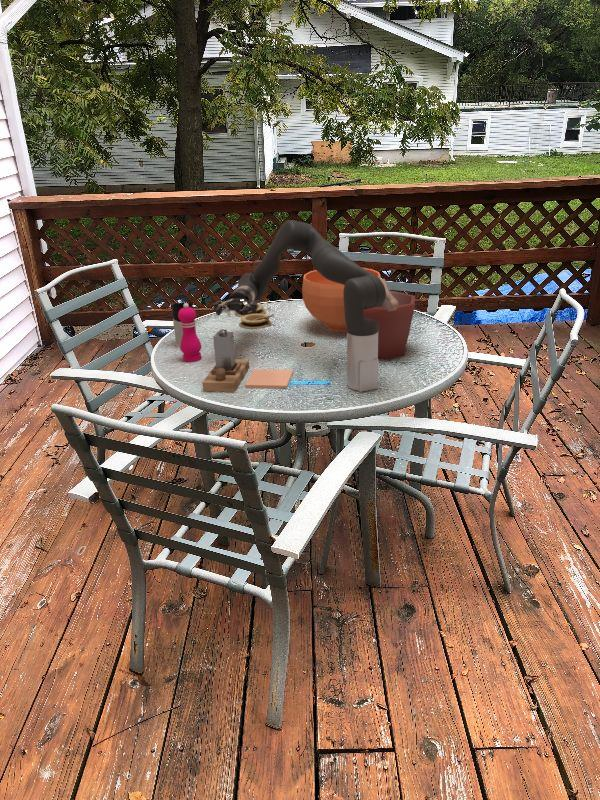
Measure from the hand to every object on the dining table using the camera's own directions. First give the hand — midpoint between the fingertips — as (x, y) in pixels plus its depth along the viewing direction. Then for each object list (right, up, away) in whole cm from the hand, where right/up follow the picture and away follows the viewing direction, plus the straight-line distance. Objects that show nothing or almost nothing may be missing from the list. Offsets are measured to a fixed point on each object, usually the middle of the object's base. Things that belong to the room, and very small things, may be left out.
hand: (230, 312), depth 203 cm
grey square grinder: (-1, -19, -4) cm, 19 cm away
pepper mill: (-15, -14, +16) cm, 26 cm away
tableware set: (+3, +5, +58) cm, 59 cm away
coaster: (+13, -22, -5) cm, 26 cm away
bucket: (+50, -12, +15) cm, 54 cm away
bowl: (+39, 0, +42) cm, 57 cm away
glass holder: (-18, -9, +29) cm, 35 cm away
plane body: (-1, -22, -2) cm, 22 cm away
